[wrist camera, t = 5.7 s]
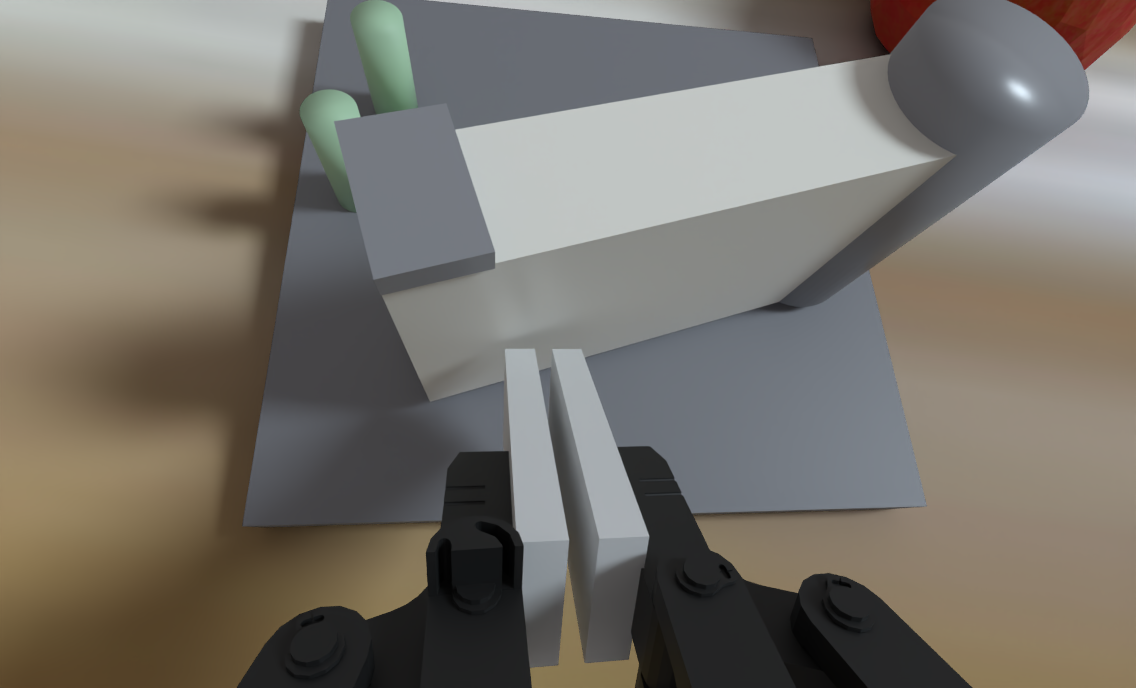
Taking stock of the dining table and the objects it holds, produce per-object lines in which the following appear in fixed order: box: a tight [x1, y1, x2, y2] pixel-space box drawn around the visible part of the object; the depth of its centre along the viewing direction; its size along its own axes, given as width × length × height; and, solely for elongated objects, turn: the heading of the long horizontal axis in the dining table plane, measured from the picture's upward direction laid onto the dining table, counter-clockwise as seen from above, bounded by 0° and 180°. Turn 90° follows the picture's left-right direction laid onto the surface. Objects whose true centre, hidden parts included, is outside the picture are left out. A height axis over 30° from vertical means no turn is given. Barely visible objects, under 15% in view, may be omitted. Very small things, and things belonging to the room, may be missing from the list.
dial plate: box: [242, 0, 927, 527], centre depth 19 cm, size 22×21×6 cm
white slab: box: [334, 0, 1089, 402], centre depth 15 cm, size 16×4×9 cm, turn 109°
